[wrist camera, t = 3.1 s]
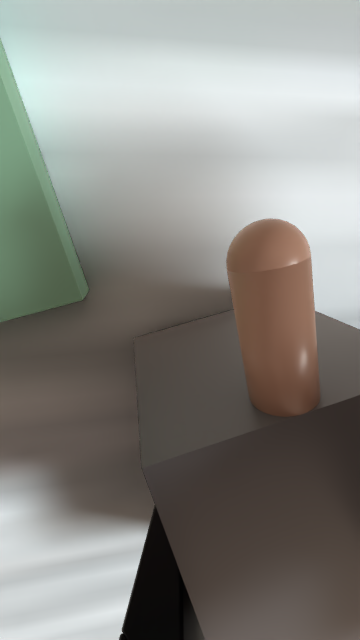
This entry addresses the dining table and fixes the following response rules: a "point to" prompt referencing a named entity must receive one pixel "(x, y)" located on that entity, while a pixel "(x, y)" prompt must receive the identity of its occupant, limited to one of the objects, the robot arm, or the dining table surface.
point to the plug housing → (259, 449)
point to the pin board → (30, 219)
